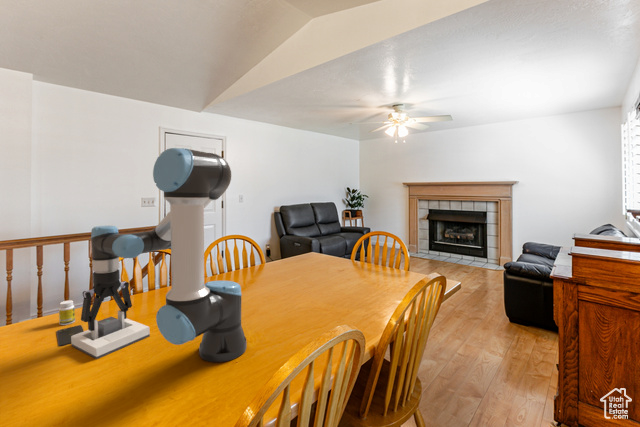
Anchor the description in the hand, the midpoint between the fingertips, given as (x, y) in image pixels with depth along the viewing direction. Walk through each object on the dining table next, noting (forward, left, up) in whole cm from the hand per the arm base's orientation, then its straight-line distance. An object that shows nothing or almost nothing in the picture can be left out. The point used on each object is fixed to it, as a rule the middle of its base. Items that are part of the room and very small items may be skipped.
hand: (108, 333), depth 104 cm
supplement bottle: (+28, +1, -2) cm, 28 cm away
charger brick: (0, 0, -1) cm, 1 cm away
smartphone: (+15, +5, -3) cm, 16 cm away
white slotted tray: (-2, 0, -2) cm, 3 cm away
